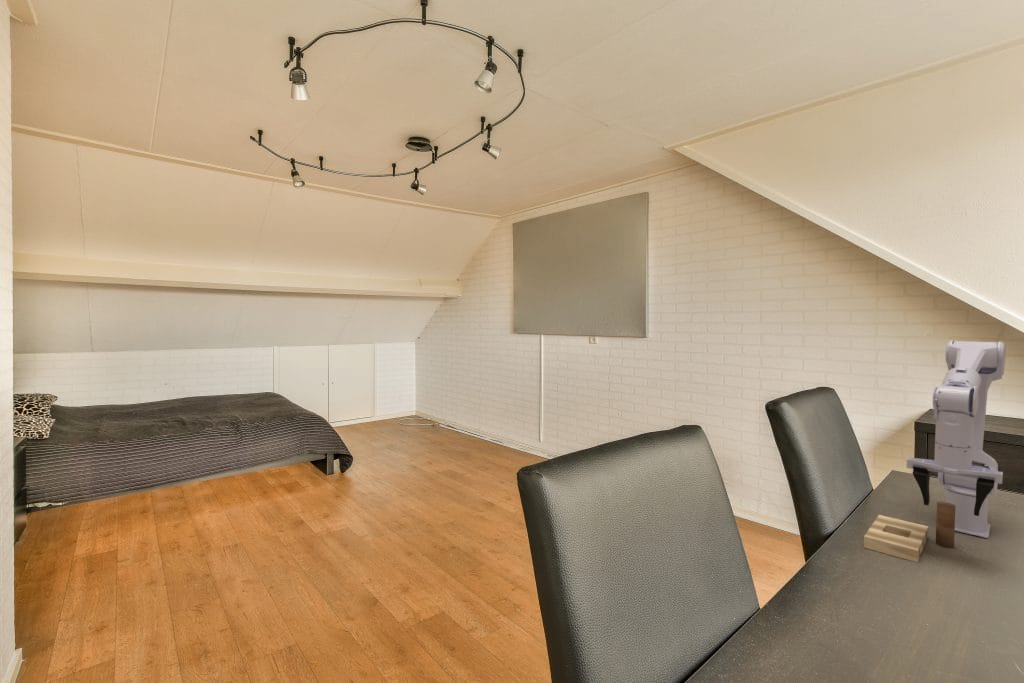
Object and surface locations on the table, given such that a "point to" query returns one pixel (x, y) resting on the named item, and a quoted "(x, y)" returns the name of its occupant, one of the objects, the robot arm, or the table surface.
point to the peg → (945, 524)
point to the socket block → (896, 538)
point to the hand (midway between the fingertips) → (950, 508)
